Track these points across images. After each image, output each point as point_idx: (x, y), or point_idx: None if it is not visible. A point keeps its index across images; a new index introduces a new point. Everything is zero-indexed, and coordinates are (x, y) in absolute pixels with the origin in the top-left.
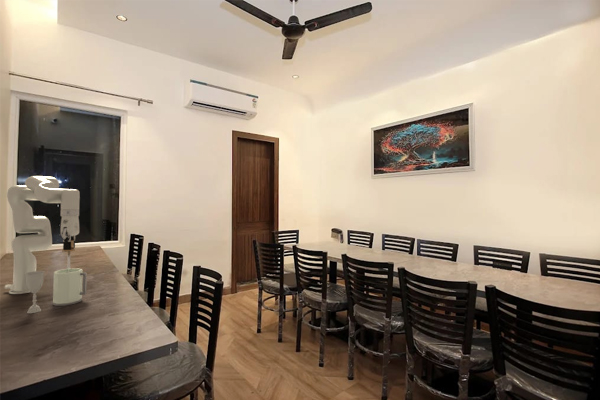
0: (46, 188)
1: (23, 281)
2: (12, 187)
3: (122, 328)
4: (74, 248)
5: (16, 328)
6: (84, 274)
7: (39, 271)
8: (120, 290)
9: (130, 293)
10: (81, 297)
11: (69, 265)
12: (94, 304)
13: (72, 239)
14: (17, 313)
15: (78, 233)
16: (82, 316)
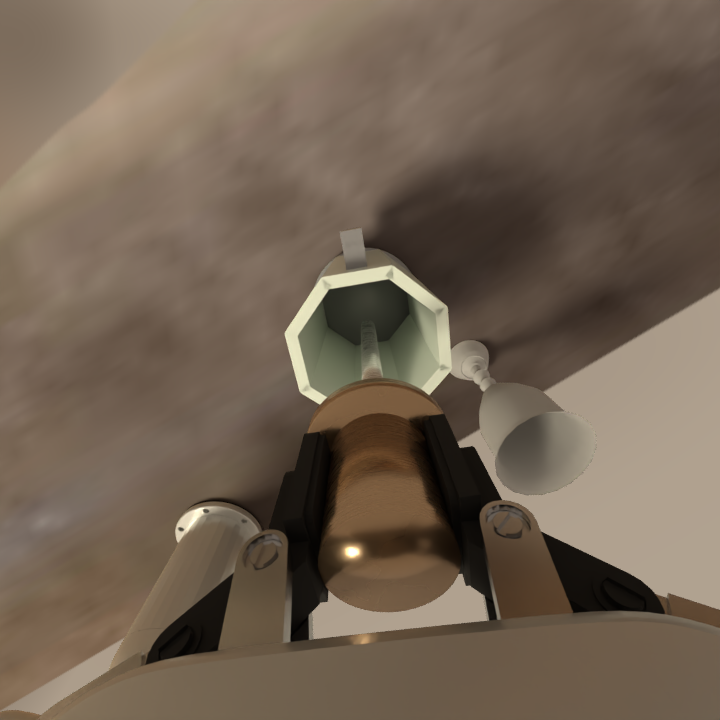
0: None
1: (231, 561)
2: None
3: None
4: (312, 428)
5: (648, 303)
6: (362, 236)
7: (496, 458)
8: (161, 122)
9: (216, 8)
10: (340, 256)
11: (375, 359)
12: (415, 145)
13: (303, 570)
14: (479, 399)
15: (142, 682)
16: (592, 104)
